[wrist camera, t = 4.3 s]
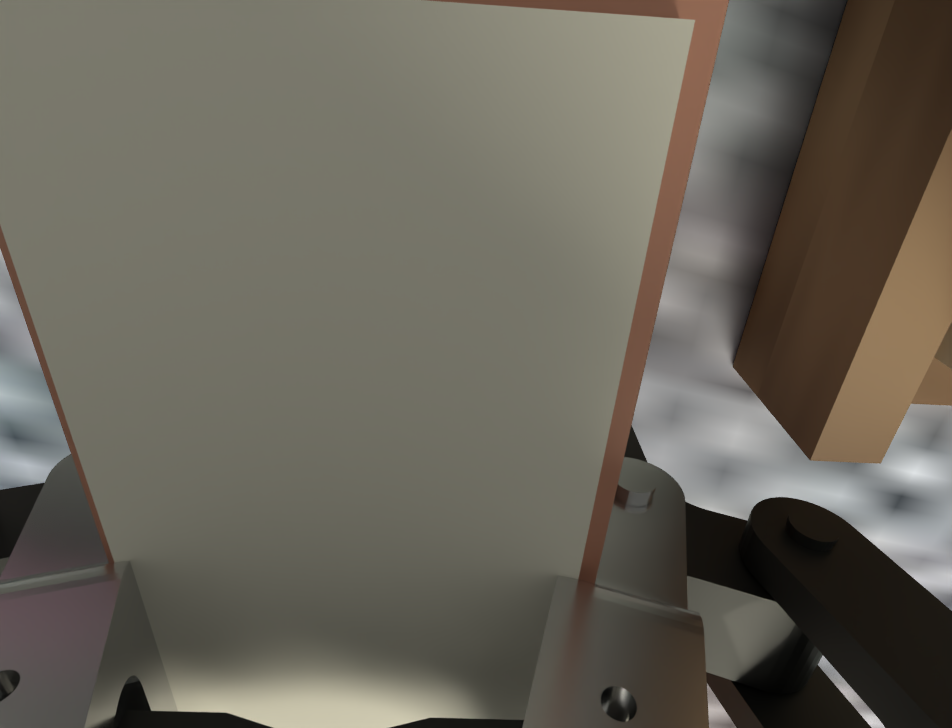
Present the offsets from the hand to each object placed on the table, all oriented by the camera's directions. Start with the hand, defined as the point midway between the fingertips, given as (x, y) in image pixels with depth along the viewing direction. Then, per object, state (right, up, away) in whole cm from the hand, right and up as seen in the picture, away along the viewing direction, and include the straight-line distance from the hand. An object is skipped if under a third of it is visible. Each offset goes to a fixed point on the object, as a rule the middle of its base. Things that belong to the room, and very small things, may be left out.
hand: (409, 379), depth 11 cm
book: (0, +1, +1) cm, 1 cm away
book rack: (+14, +12, -5) cm, 19 cm away
